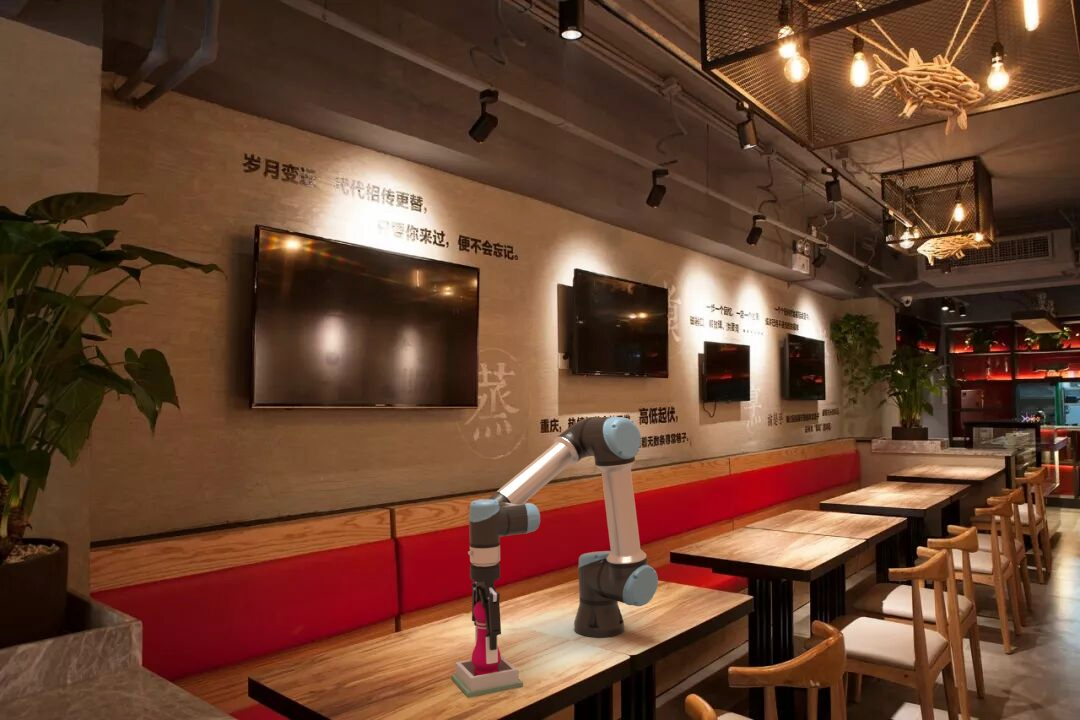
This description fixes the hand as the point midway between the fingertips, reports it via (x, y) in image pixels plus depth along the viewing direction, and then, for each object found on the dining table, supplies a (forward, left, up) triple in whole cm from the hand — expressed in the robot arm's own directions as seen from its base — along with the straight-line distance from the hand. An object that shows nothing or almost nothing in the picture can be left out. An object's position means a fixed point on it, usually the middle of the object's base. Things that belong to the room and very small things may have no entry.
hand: (486, 657), depth 172 cm
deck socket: (0, 0, -6) cm, 6 cm away
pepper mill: (0, 0, -5) cm, 5 cm away
